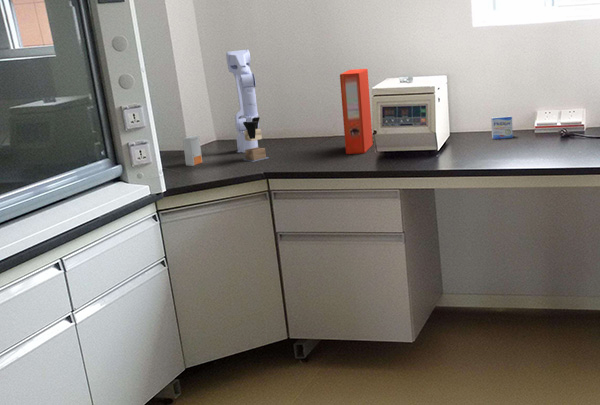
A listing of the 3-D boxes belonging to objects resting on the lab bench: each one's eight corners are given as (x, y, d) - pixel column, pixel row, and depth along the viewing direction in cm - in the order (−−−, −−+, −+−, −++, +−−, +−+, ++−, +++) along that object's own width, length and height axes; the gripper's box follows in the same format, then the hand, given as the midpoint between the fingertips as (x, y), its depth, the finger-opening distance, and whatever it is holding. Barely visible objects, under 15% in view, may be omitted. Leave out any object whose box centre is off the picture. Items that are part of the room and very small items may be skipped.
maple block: (245, 140, 320) (243, 130, 319) (255, 138, 322) (254, 128, 321) (251, 141, 316) (250, 131, 315) (261, 138, 318) (260, 129, 317)
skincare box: (194, 167, 321) (190, 138, 318) (186, 166, 323) (182, 138, 320) (203, 163, 326) (199, 135, 323) (195, 163, 328) (191, 135, 325)
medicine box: (492, 139, 313) (491, 118, 310) (491, 137, 317) (490, 116, 315) (513, 138, 311) (512, 116, 309) (511, 136, 315) (511, 115, 313)
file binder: (373, 144, 328) (367, 68, 320) (365, 153, 312) (359, 72, 304) (354, 145, 330) (348, 69, 322) (346, 154, 314) (338, 74, 307)
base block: (246, 159, 322) (244, 149, 321) (258, 156, 325) (256, 147, 324) (254, 160, 317) (252, 151, 316) (266, 157, 320) (265, 148, 319)
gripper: (242, 102, 323) (245, 135, 326) (237, 107, 309) (241, 141, 312) (258, 101, 322) (262, 133, 326) (255, 105, 308) (259, 139, 312)
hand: (253, 137), depth 319 cm, fingers closed on maple block, 7 cm apart
